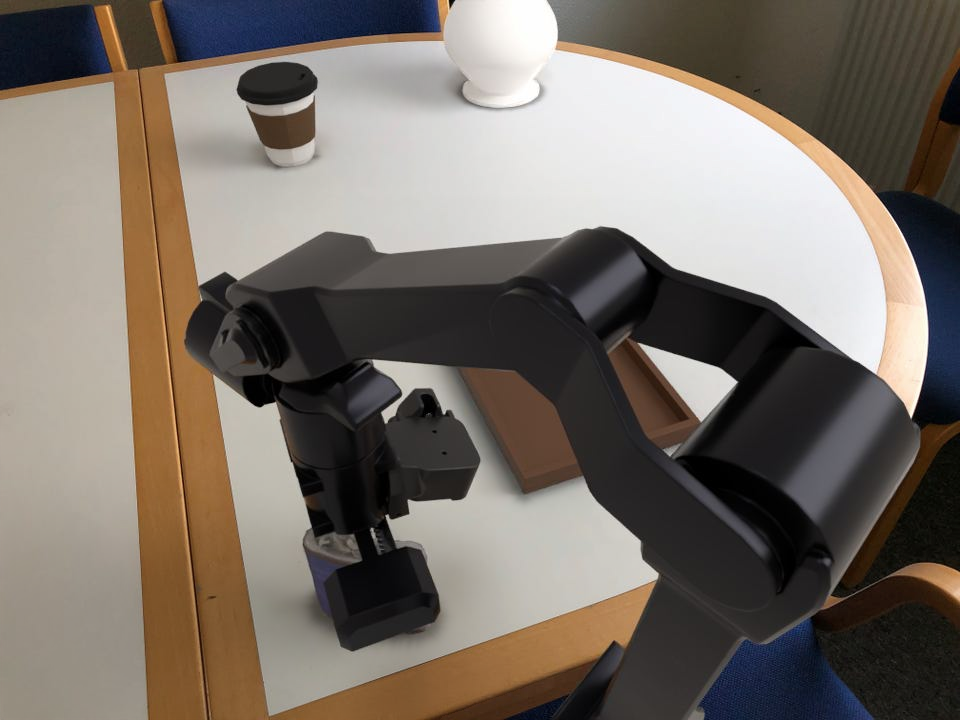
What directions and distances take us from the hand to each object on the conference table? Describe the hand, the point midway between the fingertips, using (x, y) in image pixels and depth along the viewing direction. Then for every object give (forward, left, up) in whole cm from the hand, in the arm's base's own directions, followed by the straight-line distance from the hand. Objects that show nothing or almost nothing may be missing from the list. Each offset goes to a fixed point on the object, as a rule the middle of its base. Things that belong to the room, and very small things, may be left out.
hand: (368, 575), depth 58 cm
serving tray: (+18, -24, -5) cm, 31 cm away
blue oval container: (0, 0, -6) cm, 6 cm away
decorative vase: (+83, -44, -6) cm, 94 cm away
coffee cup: (+75, -8, -6) cm, 76 cm away
